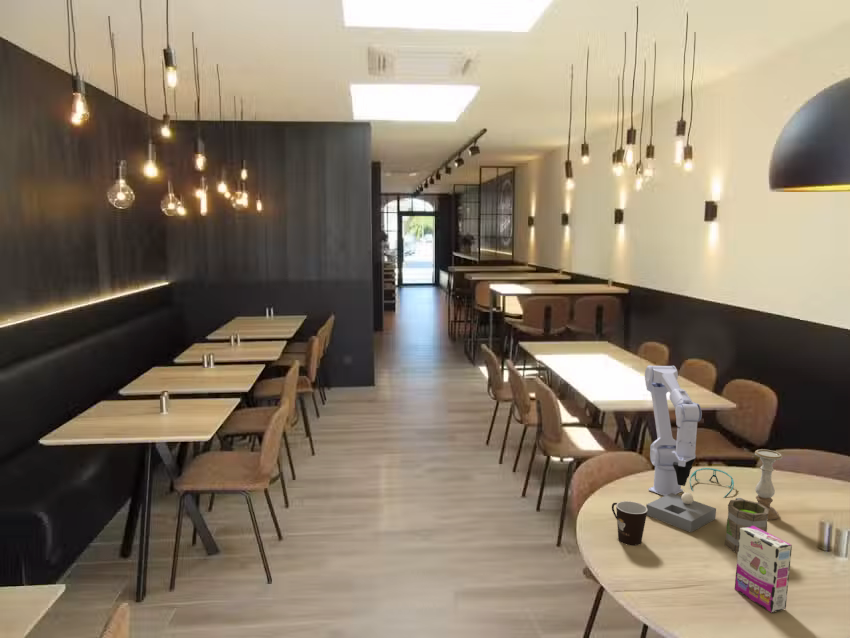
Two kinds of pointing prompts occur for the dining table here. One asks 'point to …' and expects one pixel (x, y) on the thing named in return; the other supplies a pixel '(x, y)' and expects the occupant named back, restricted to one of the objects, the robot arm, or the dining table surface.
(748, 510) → the mug
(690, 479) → the teal safety glasses
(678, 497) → the deck
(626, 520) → the coffee mug
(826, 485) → the dining table surface
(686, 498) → the ball
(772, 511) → the candle holder
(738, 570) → the candy bar box
